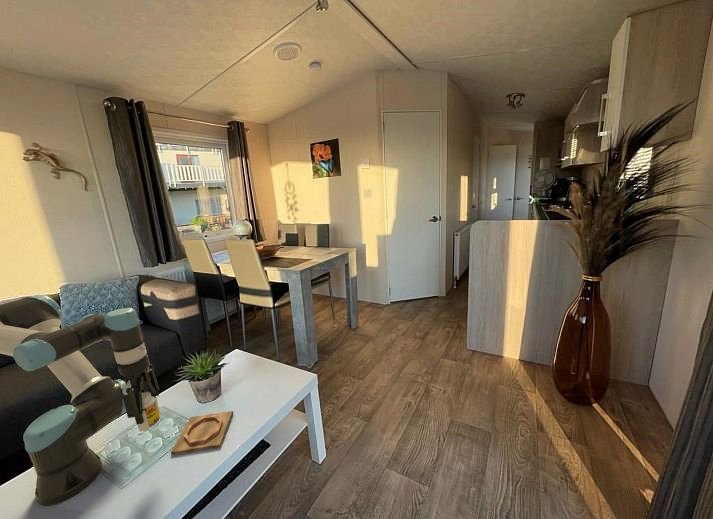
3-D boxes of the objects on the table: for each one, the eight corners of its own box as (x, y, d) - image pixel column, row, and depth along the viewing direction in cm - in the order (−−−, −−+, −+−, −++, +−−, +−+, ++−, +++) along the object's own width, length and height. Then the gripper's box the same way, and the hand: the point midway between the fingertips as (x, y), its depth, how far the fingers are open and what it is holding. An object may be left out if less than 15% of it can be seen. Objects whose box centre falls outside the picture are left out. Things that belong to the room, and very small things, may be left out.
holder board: (171, 455, 100) (169, 449, 99) (191, 419, 115) (189, 415, 115) (220, 447, 102) (219, 442, 101) (233, 413, 117) (232, 408, 117)
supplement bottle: (139, 432, 92) (131, 404, 89) (140, 422, 96) (132, 395, 94) (160, 424, 94) (153, 396, 92) (160, 414, 99) (153, 387, 97)
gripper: (126, 375, 81) (146, 444, 87) (161, 341, 99) (175, 400, 105) (97, 378, 80) (118, 448, 86) (137, 344, 98) (153, 403, 104)
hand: (150, 422), depth 95 cm, fingers closed on supplement bottle, 6 cm apart
